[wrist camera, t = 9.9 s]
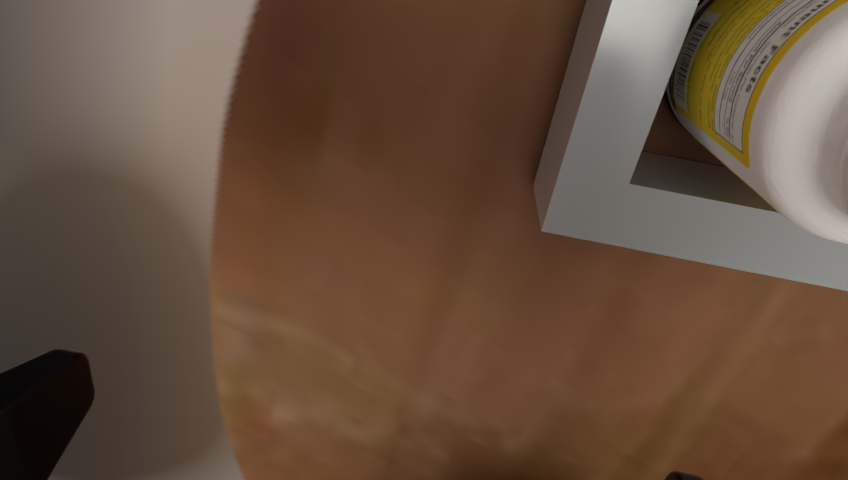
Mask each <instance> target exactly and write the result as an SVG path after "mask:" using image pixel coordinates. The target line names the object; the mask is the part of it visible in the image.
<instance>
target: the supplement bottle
mask: <svg viewBox="0 0 848 480" xmlns="http://www.w3.org/2000/svg"><path fill="white" fill-rule="evenodd" d="M666 88H667V95H668V99H669V102H670V106H671V108H672V110H673V112H674V114H675V116H676V118H677V119H678V121H679V122H680V123H681V125H682V126H683V127H684V128H685V129H686V130H687V131H688V132H689V133H690V134H691V136H692V137H694V138H695V139H696V140H697V141H698V142H699V143H700V144H701V145H702V146H704V147H705V148H706V149H707V150H708V151H709V152H710V153H712V154H713V155H714V156H715V157H716V158H717V159H718V160H720V161H721V162H722V163H723V164H724V165H725V166H726V167H727V168H729V169H730V170H731V171H732V172H733V173H734V174H735V175H737V176H738V177H739V178H740V179H741V180H743V181H744V182H745V183H746V184H747V185H748V186H749V187H751V188H752V189H753V190H754V191H755V192H756V193H757V194H758V195H759V196H761V197H762V198H763V199H764V200H765V201H766V202H767V203H768V204H769V205H771V206H772V207H773V208H774V209H775V210H776V211H777V212H779V213H780V214H781V215H783V216H784V217H785V218H787V219H788V220H789V221H791V222H792V223H794V224H795V225H797V226H798V227H800V228H802V229H804V230H805V231H807V232H809V233H811V234H814V235H817V236H819V237H822V238H825V239H828V240H832V241H836V242H840V243H846V244H848V0H704V1H703V2H702V3H701V4H700V5H699V6H698V7H697V8H696V10H695V13H694V16H693V18H692V21H691V23H690V26H689V29H688V31H687V34H686V36H685V39H684V42H683V44H682V47H681V50H680V52H679V55H678V57H677V60H676V63H675V65H674V68H673V70H672V73H671V76H670V78H669V81H668V84H667V86H666Z"/></svg>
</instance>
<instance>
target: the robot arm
mask: <svg viewBox="0 0 848 480" xmlns="http://www.w3.org/2000/svg"><path fill="white" fill-rule="evenodd" d="M94 394H95V389H94V384H93V379H92V374H91V369H90V364H89V359H88V357H87V356H86V355H85V354H84V353H82V352H77V351H72V350H67V349H54V350H51V351H49V352H47V353H44V354H42V355H40V356H37V357H35V358H33V359H31V360H29V361H26V362H24V363H22V364H20V365H17V366H15V367H13V368H11V369H8V370H6V371H4V372H2V373H0V480H48V478H49V477H50V475H51V473H52V472H53V470H54V468H55V467H56V465H57V463H58V462H59V460H60V458H61V456H62V455H63V453H64V451H65V450H66V448H67V446H68V444H69V443H70V441H71V440H72V438H73V436H74V434H75V433H76V431H77V429H78V428H79V426H80V424H81V423H82V421H83V419H84V418H85V416H86V414H87V413H88V411H89V409H90V407H91V405H92V403H93V400H94ZM665 480H703V479H702V478H701V477H699V476H697V475H693V474H688V473H683V472H678V471H673V472H671V473H669V474H668V476H667V477H666V479H665Z"/></svg>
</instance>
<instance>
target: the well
mask: <svg viewBox="0 0 848 480" xmlns="http://www.w3.org/2000/svg"><path fill="white" fill-rule="evenodd" d="M698 2H699V0H586V3H585V6H584V10H583V13H582V17H581V20H580V24H579V27H578V31H577V34H576V38H575V41H574V45H573V48H572V52H571V55H570V59H569V62H568V66H567V69H566V73H565V76H564V80H563V83H562V87H561V90H560V94H559V97H558V101H557V104H556V108H555V111H554V115H553V118H552V121H551V125H550V128H549V132H548V135H547V139H546V142H545V146H544V149H543V153H542V156H541V160H540V163H539V167H538V170H537V174H536V177H535V181H534V184H533V189H534V195H535V200H536V206H537V211H538V217H539V222H540V228H541V231H542V232H547V233H553V234H558V235H563V236H568V237H573V238H578V239H583V240H589V241H594V242H599V243H604V244H609V245H614V246H619V247H624V248H630V249H635V250H640V251H645V252H650V253H655V254H660V255H665V256H671V257H676V258H681V259H686V260H691V261H696V262H701V263H706V264H712V265H717V266H722V267H727V268H732V269H737V270H742V271H747V272H753V273H758V274H763V275H768V276H773V277H778V278H783V279H788V280H794V281H799V282H804V283H809V284H814V285H819V286H824V287H829V288H835V289H840V290H845V291H848V244H846V243H840V242H836V241H832V240H828V239H825V238H822V237H819V236H817V235H814V234H811V233H809V232H807V231H805V230H804V229H802V228H800V227H798V226H797V225H795V224H794V223H792V222H791V221H789V220H788V219H787V218H785V217H784V216H783V215H781V214H780V213H779V212H777V211H776V210H775V209H774V208H773V207H772V206H771V205H769V204H768V203H767V202H766V201H765V200H764V199H763V198H762V197H761V196H759V195H758V194H757V193H756V192H755V191H754V190H753V189H752V188H751V187H749V186H748V185H747V184H746V183H745V182H744V181H743V180H741V179H740V178H739V177H738V176H737V175H735V174H734V173H733V172H732V171H731V170H730V169H729V168H727V167H722V166H717V165H712V164H706V163H701V162H696V161H691V160H686V159H680V158H675V157H670V156H665V155H660V154H654V153H649V152H644V151H642V149H643V146H644V144H645V141H646V139H647V136H648V133H649V131H650V128H651V125H652V123H653V120H654V118H655V115H656V112H657V110H658V107H659V105H660V102H661V99H662V97H663V94H664V91H665V89H666V86H667V84H668V81H669V78H670V76H671V73H672V70H673V68H674V65H675V63H676V60H677V57H678V55H679V52H680V50H681V47H682V44H683V42H684V39H685V36H686V34H687V31H688V29H689V26H690V23H691V21H692V18H693V16H694V13H695V10H696V8H697V5H698Z"/></svg>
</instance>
